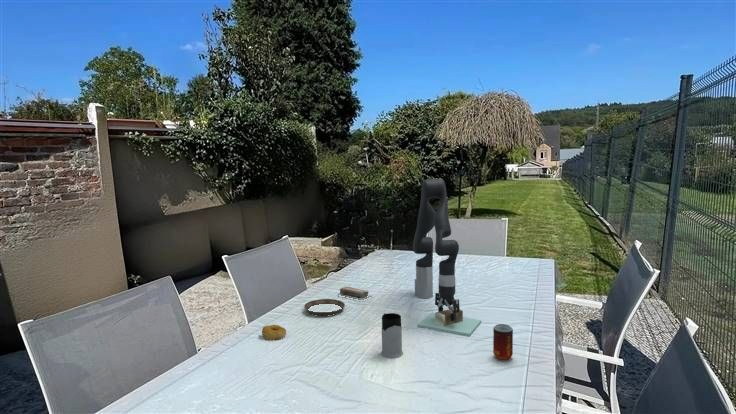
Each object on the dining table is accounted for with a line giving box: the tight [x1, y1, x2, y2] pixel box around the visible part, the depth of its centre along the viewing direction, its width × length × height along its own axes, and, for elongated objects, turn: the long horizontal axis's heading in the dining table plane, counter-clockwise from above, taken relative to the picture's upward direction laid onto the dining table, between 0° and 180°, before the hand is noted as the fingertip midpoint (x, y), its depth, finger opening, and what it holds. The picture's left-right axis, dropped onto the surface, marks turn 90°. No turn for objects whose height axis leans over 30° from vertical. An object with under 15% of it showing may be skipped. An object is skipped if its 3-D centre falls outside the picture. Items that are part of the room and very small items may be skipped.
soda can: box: [492, 323, 514, 362], centre depth 165 cm, size 7×7×12 cm
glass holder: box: [380, 312, 404, 359], centre depth 173 cm, size 9×14×15 cm, turn 15°
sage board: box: [417, 311, 482, 337], centre depth 200 cm, size 24×18×1 cm
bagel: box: [261, 324, 287, 341], centre depth 191 cm, size 10×11×5 cm
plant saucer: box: [303, 298, 346, 317], centre depth 223 cm, size 21×21×3 cm
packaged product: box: [337, 286, 373, 300], centre depth 245 cm, size 18×5×10 cm
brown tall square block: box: [434, 308, 464, 327], centre depth 200 cm, size 5×5×12 cm
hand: (447, 318), depth 199 cm, fingers open, 8 cm apart
